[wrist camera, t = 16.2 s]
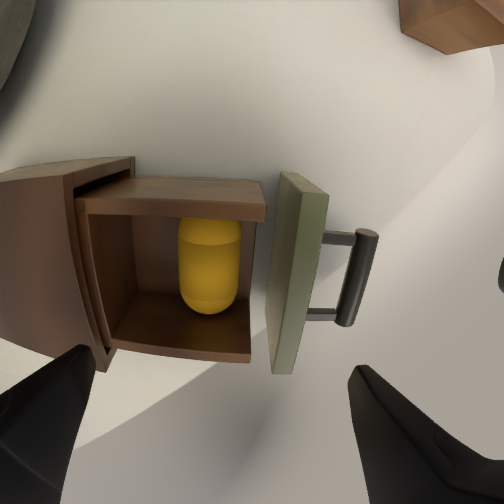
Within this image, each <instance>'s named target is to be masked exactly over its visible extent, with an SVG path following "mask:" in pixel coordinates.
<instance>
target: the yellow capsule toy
mask: <svg viewBox="0 0 504 504" xmlns="http://www.w3.org/2000/svg"><path fill="white" fill-rule="evenodd" d="M240 248H241V225H240V222H239V221H234V220H218V219H201V218H181V220H180V223H179V227H178V261H179V284H180V292H181V295H182V297H183V299H184V301H185V302H186V303H187V305H188V306H189V307H190V308H192V309H193V310H195V311H197V312H199V313H203V314H215V313H219V312H221V311H223V310H225V309H226V308H227V307H229V306H230V305H231V303H232V302H233V301H234V299H235V296H236V294H237V289H238V277H239V263H240Z"/></svg>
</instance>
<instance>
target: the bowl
mask: <svg viewBox="0 0 504 504" xmlns="http://www.w3.org/2000/svg"><path fill="white" fill-rule="evenodd" d="M35 4H36V0H0V91H1V89H2V87H3V86H4V84H5V82H6V80H7V78H8V76H9V74H10V72H11V70H12V67H13V65H14V63H15V60H16V58H17V56H18V54H19V51H20V49H21V47H22V44H23V42H24V39H25V37H26V34H27V31H28V29H29V26H30V23H31V20H32V17H33V13H34V9H35Z"/></svg>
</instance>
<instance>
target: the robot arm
mask: <svg viewBox="0 0 504 504" xmlns="http://www.w3.org/2000/svg"><path fill="white" fill-rule="evenodd" d="M95 371H96V360H95V358H94V355H93V353H92V350H91V348H90V347H89V346H88V345H84V344H78V345H76V346H75V347H73V348H72V349H70V350H68V351H67V352H65V353H64V354H62V355H61V356H59V357H57V358H56V359H54V360H53V361H51V362H50V363H48V364H47V365H45V366H43V367H42V368H40V369H39V370H37V371H36V372H34V373H33V374H31V375H30V376H28V377H27V378H25V379H23V380H22V381H20V382H19V383H17V384H16V385H14V386H13V387H11V388H10V389H9V390H7V391H5V392H4V393H2V394H0V504H60V500H61V495H62V490H63V485H64V481H65V477H66V472H67V468H68V464H69V460H70V457H71V453H72V450H73V446H74V443H75V440H76V436H77V433H78V430H79V427H80V424H81V421H82V418H83V415H84V412H85V409H86V406H87V403H88V399H89V395H90V391H91V387H92V382H93V379H94V375H95ZM348 392H349V400H350V408H351V415H352V423H353V428H354V432H355V436H356V440H357V444H358V448H359V453H360V458H361V462H362V467H363V472H364V476H365V481H366V486H367V490H368V496H369V502H370V504H504V460H492V459H488V458H485V457H483V456H481V455H480V454H478V453H477V452H475V451H474V450H472V449H470V448H469V447H467V446H466V445H464V444H463V443H461V442H460V441H458V440H457V439H456V438H454V437H453V436H451V435H450V434H449V433H447V432H446V431H445V430H444V429H442V428H441V427H440V426H439V425H438V424H436V423H434V421H433V420H431V419H430V418H429V417H428V416H427V415H426V414H425V413H423V412H422V411H421V410H420V409H419V408H417V407H416V406H415V405H414V404H412V402H410V401H409V400H408V399H407V398H405V397H404V396H403V395H402V394H401V393H400V392H399V391H397V390H396V389H395V388H394V387H393V386H392V385H390V384H389V383H388V382H387V381H386V380H385V379H383V378H382V377H381V376H380V375H379V374H377V373H376V372H375V371H374V370H373V369H372V368H371V367H369V366H368V365H358V366H356V367H355V368H354V370H353V372H352V374H351V376H350V378H349V380H348Z"/></svg>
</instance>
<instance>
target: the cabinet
mask: <svg viewBox="0 0 504 504" xmlns="http://www.w3.org/2000/svg"><path fill="white" fill-rule="evenodd" d="M134 164H135V157H134V156H125V157H106V158H92V159H80V160H70V161H61V162H53V163H45V164H38V165H31V166H25V167H19V168H15V169H12V170H9V171H5V172H2V173H0V338H2V339H5V340H7V341H9V342H12V343H14V344H17V345H19V346H21V347H24V348H27V349H29V350H32V351H35V352H37V353H40V354H43V355H46V356H49V357H52V358H55V359H56V358H57V357H59V356H61V355H62V354H64V353H65V352H67V351H68V350H70V349H72V348H73V347H75V346H76V345H78V344H84V345H88V346H89V347H90V348H91V350H92V353H93V355H94V358H95V360H96V371H100V372H104V373H106V372H107V370H108V367H109V365H110V363H111V361H112V359H113V357H114V355H115V353H116V351H117V348H112V347H107V346H103V343H102V340H101V336H100V333H99V330H98V326H97V323H96V319H95V316H94V312H93V308H92V305H91V301H90V296H89V292H88V288H87V283H86V279H85V274H84V269H83V264H82V258H81V252H80V246H79V240H78V233H77V225H76V216H75V207H74V198H76V197H78V196H81V195H83V194H85V193H87V192H90V191H92V190H94V189H97V188H99V187H101V186H104V185H106V184H109V183H111V182H113V181H116V180H118V179H121V178H123V177H134Z"/></svg>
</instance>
